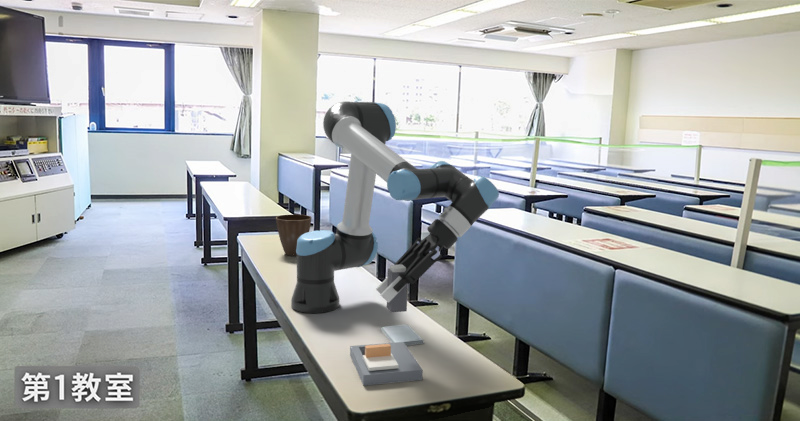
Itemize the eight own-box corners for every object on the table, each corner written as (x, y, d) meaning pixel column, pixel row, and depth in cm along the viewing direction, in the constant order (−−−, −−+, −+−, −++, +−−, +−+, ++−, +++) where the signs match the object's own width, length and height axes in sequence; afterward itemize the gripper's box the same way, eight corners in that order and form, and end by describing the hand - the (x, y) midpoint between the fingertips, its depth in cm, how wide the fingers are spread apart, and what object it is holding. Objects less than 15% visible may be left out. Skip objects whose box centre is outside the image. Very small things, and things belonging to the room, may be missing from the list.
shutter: (362, 358, 141) (363, 345, 140) (391, 356, 143) (391, 343, 142) (368, 370, 134) (369, 357, 134) (398, 368, 136) (398, 355, 135)
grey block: (386, 307, 147) (388, 264, 145) (402, 306, 148) (403, 263, 146) (391, 312, 143) (392, 268, 142) (406, 311, 145) (408, 268, 143)
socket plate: (350, 355, 149) (350, 346, 149) (403, 350, 153) (403, 341, 152) (363, 385, 133) (363, 375, 133) (422, 379, 137) (422, 369, 136)
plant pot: (272, 251, 255) (272, 215, 252) (306, 248, 261) (306, 213, 259) (280, 259, 242) (280, 221, 239) (315, 256, 248) (315, 219, 245)
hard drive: (423, 339, 158) (408, 323, 169) (395, 343, 155) (381, 326, 167) (423, 345, 158) (408, 329, 170) (394, 348, 156) (381, 331, 167)
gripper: (427, 211, 153) (363, 276, 151) (451, 224, 137) (380, 297, 135) (445, 231, 155) (383, 294, 153) (470, 246, 139) (401, 317, 137)
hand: (382, 295), depth 144 cm, fingers closed on grey block, 4 cm apart
